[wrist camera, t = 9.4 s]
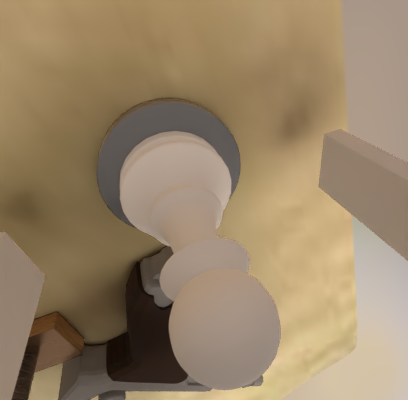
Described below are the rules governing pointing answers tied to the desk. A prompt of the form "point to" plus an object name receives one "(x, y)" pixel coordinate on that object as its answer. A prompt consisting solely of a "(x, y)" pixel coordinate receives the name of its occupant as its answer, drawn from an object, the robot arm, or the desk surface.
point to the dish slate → (151, 125)
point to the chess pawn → (200, 260)
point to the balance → (46, 350)
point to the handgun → (133, 347)
